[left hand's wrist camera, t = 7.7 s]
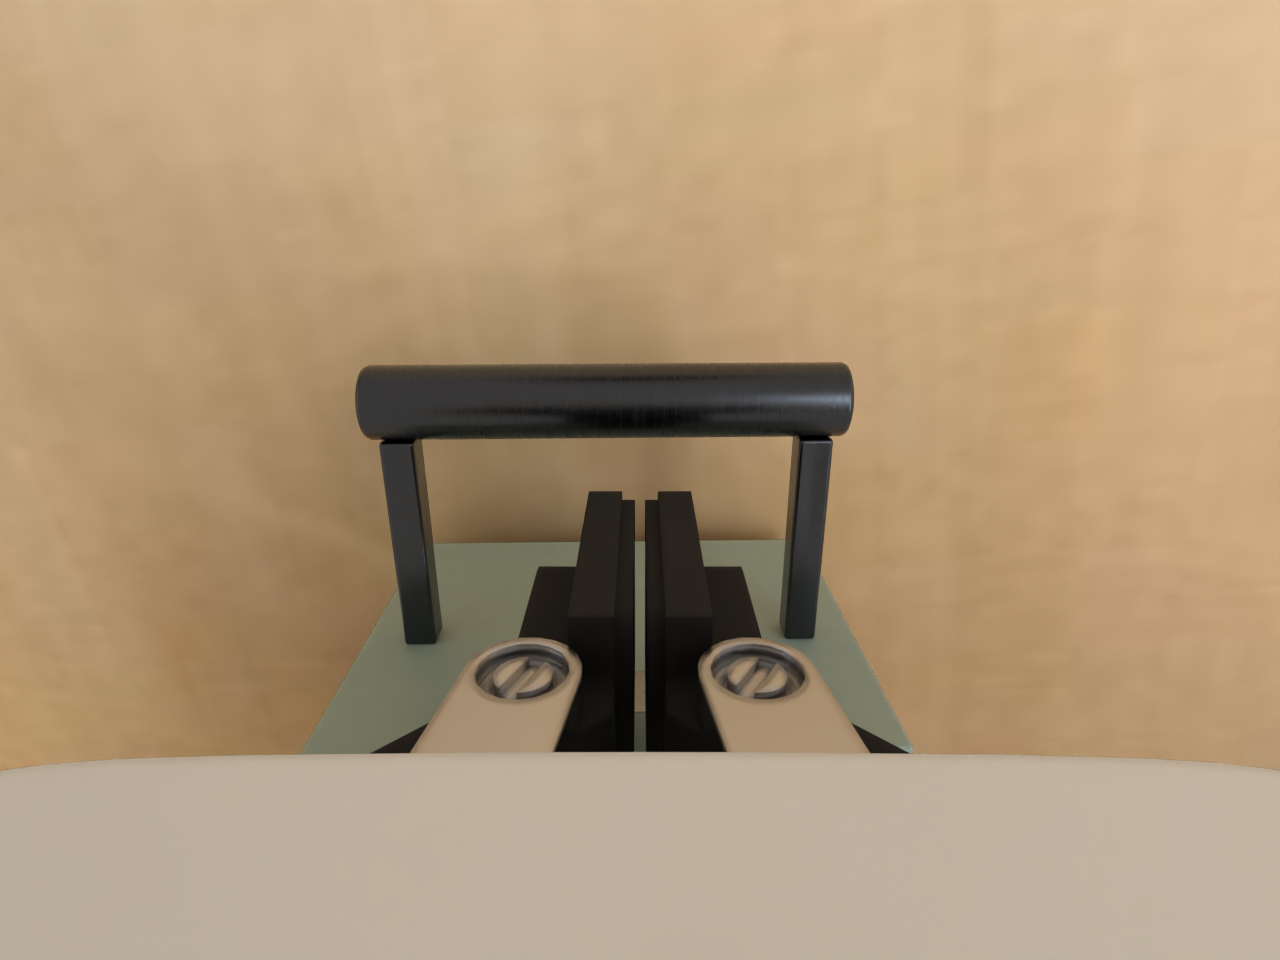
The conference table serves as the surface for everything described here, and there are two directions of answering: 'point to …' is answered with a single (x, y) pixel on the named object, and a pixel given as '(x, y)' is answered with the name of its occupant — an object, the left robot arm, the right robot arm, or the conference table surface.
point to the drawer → (505, 572)
